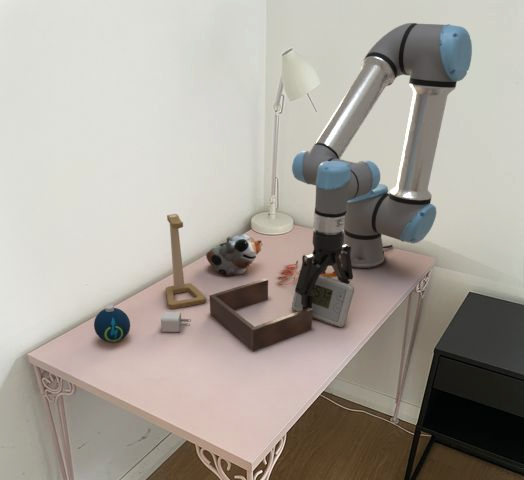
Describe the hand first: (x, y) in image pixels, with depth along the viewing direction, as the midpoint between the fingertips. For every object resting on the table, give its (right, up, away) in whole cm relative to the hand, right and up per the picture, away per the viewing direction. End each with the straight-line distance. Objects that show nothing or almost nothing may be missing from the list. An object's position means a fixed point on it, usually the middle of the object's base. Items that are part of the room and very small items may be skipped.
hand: (322, 310), depth 142 cm
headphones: (-1, +11, +19) cm, 23 cm away
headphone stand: (-38, +4, +8) cm, 39 cm away
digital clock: (-1, -2, 0) cm, 2 cm away
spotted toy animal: (-24, +15, +24) cm, 37 cm away
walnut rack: (-17, -3, -3) cm, 17 cm away
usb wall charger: (-37, -5, -5) cm, 38 cm away
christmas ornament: (-52, -8, -10) cm, 54 cm away
